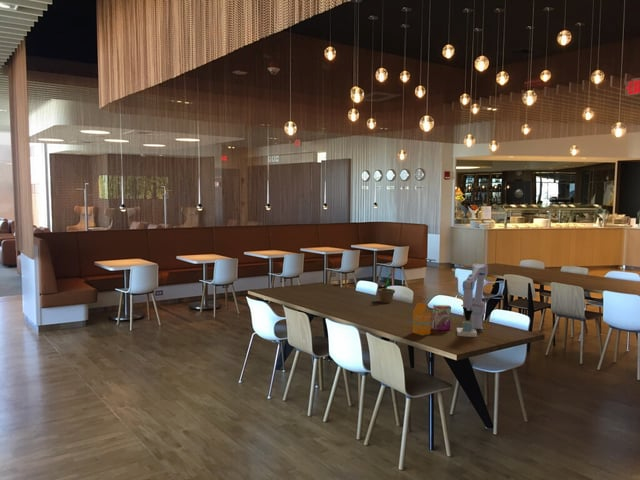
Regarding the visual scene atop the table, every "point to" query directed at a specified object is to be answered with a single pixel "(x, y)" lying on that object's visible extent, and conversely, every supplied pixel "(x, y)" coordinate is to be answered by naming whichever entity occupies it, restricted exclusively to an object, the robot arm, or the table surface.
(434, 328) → the candy bar box
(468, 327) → the teal cube
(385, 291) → the flowerpot
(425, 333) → the orange juice
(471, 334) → the grey plinth
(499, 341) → the table surface
